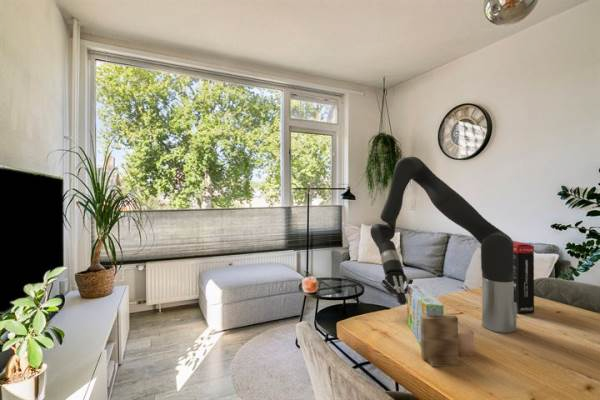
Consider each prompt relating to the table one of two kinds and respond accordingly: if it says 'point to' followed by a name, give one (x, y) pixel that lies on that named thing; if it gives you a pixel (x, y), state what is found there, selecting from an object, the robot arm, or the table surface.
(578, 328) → the table surface
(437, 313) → the snack box
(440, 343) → the walnut bookend
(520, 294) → the graphics card box
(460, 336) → the pinkish-brown rounded piece
